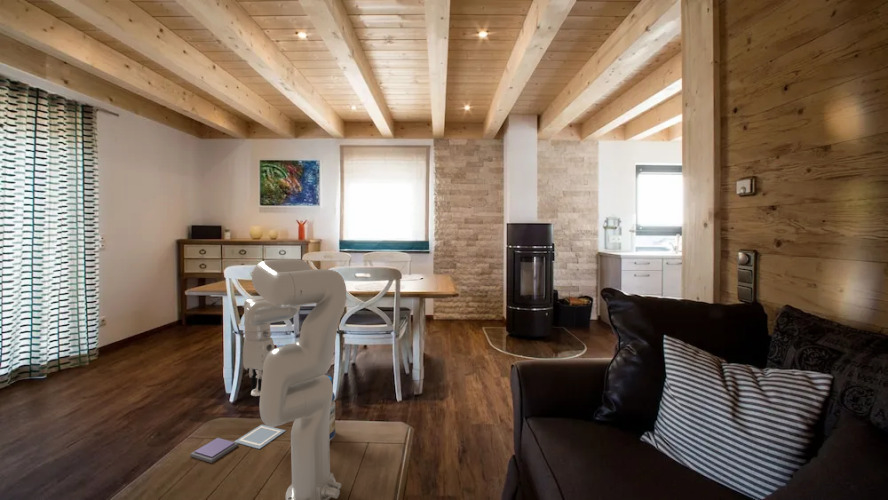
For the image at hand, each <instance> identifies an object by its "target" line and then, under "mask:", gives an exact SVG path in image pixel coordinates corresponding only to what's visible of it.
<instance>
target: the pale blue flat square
mask: <svg viewBox="0 0 888 500" xmlns="http://www.w3.org/2000/svg"><path fill="white" fill-rule="evenodd" d="M286 431H287V430H286V429H282V428H277V427H269V426H267V425H265V424H259V426H256V427H255V428H253V429H252V430H250V431H249V432H247V433H245V434H244V435H242V436H241V437H239V438H237V439H236V440H234V441H233V442H236V443H238V445H241V446H247V447H249V448H254V449H255V450H261V449H262V448H264V447H265V446H266V445H268V444H269V443H271V442H272V441H274V440H275V439H277V438H278V437H280V436H282V434H284V433H285V432H286Z"/></svg>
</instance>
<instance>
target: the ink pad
mask: <svg viewBox="0 0 888 500" xmlns="http://www.w3.org/2000/svg"><path fill="white" fill-rule="evenodd" d="M237 447H239V444H238V443H236V442H234V441H233V440H229V439H226V438H225V439H224V438H221V437H216V438H215V439H213V440H211V441H210V442H208V443H206V444H204V445H203V446H201V447H199V448H197V449H196V450H194V451H192V452H190V455H189V457H191V458H194V459H197V460H199V461H203V462H206V463H210V464H212V463H214V462H215V461H217V460H219V459H221V458H222V457H224V456H225V455H226V454H228V453H229V452H231V451H233V450H234V449H235V448H237Z"/></svg>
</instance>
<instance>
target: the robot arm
mask: <svg viewBox="0 0 888 500" xmlns="http://www.w3.org/2000/svg"><path fill="white" fill-rule="evenodd" d="M345 282H346V281H345V280H344V277H343V276H342V274H340V273H339V272H337V271H336V270H333V269H328V268H327V269H326V268H325V269H324V268H319V269H315V268H314V269H312V267H311V265H310V264H309V263H308V262H307V261H304V260H303V259H299V258H297V259H296V258H286V259H285V258H284V259H268V260H263V261H260V262H259V263H257V265H256V266H255V267H254V268H253V271H252V274H251V283H252V286H253V288H254V290H255V291H256V293H257V294H258V295H259V296H255V297H254V296H253V297H249V298H247V299H245V300H244V303H243V308H244V309H243V311H244V312H243V313H244V318H243V319H244V341H243V346H242V364H243V366H242V367H243V369H244V370H246V371H247V372H248V376H249V378H250V389H251V391H252V390H254V389H255V388H256V387H257V378H256V375H257V373H256V371H255V370H259V378H260V379H258V391H261V393H260V396H259V407H258V408H259V415H260V419H261V421H262V423H263V425H266V426H269V427H274V428H277V427H279V426H282V425H284V424H287V423H290V422H292V421H293V424H292V427H291V431H290V453H291V457H290V458H291V459H290V460H291V462H290V463H291V484H290V485H289V486H288V488H287V490H286V492H285V500H330V499H331V498H333V499H338V498H339V496H340V494H341V493H340V492H341V491H340V489H341V487H342V483H340V482H337V481H336V478H335V476H334V473H332V472H331V454H330V453H331V451H330V447H331V446H330V441H331V440H330V438H329V418H330V407H331V402H332V396H333V393H334V389H333V388H334V387H333V386H334V385H333V386H332V382H331V380H330V378H329V377H328V376H329V375H327V373H328V371H329V370H330V368H331V366H332V364H333V363H332V362H333V358H334V351H335V345H336V339H337V331H338V327H339V323H340V322H341V319H342V316H343V313H344V310H345V307H346V304H347V303H346V302H347V286H346V283H345ZM313 304H315V306H314V307H313V308H312V310H311V311H309V313H308V314H307V316H306V317H305V318H304V320H303V322H302V324H301V327H300V335H299V339H298V341H295V342H294V343H289V344H285V345H282V346H279V347H276V348H275V344H274V340H273V339H274V338H272V337H271V336H272V333H271V324H272V323H278V322H285V321H288V320H291V319H293V318H295V316H296V315H297V313H299V311H300V310H301V306H306V305H313Z"/></svg>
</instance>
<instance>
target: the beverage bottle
mask: <svg viewBox="0 0 888 500" xmlns="http://www.w3.org/2000/svg"><path fill="white" fill-rule="evenodd" d="M327 376H328V377H329V378H330V380H331V382H332V386H334V385H333V377H332V376H330V375H327ZM335 399H336V396H335V393H334V392H333V396H332V402H331V407H330V418H329V438H330V441H331V440H333V439H334V438H335V436H336V402H335Z"/></svg>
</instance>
